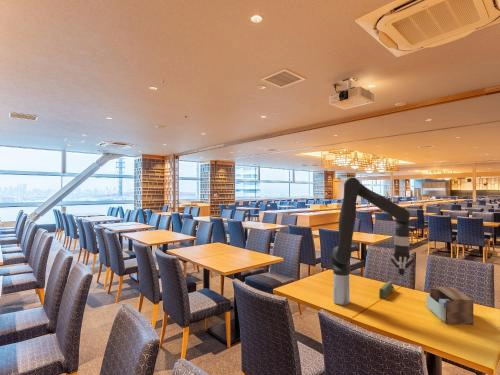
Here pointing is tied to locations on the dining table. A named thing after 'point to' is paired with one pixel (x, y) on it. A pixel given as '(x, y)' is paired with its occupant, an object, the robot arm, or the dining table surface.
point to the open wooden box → (455, 305)
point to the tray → (436, 308)
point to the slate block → (443, 302)
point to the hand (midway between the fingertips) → (401, 274)
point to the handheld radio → (385, 290)
